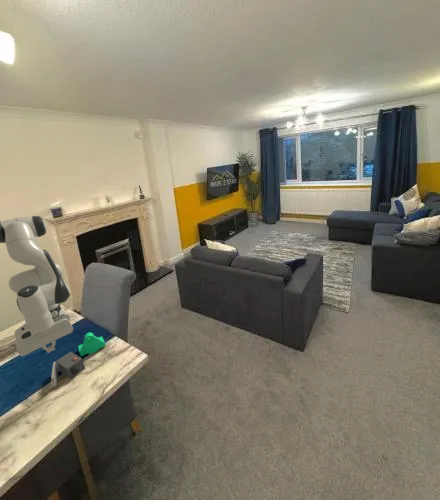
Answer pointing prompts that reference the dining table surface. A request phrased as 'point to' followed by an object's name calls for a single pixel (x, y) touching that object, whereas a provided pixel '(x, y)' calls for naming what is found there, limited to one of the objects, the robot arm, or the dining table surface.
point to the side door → (54, 374)
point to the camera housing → (70, 365)
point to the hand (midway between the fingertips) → (51, 350)
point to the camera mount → (91, 344)
